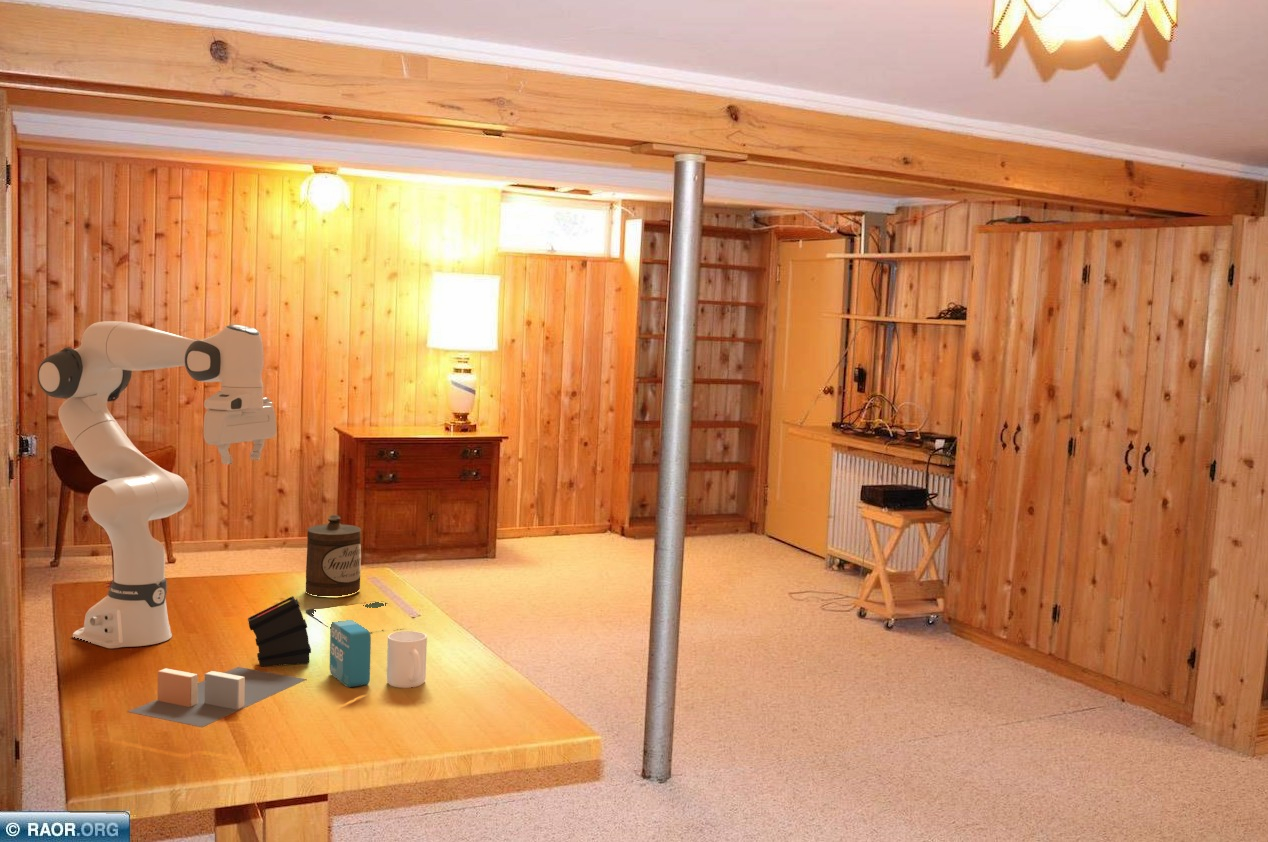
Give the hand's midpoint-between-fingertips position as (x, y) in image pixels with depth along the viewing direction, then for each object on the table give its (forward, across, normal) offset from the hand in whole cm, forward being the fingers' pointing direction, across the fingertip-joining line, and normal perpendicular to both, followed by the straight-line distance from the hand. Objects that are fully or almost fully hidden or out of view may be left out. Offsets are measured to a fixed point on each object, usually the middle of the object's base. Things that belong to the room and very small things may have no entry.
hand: (241, 461), depth 253 cm
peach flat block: (+45, +28, +8) cm, 53 cm away
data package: (+46, -1, +28) cm, 54 cm away
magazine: (+46, -3, +8) cm, 46 cm away
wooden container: (+46, -63, -19) cm, 80 cm away
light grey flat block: (+45, +25, +17) cm, 54 cm away
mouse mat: (+46, -44, +4) cm, 64 cm away
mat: (+45, +20, +12) cm, 51 cm away
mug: (+46, -4, +41) cm, 62 cm away
